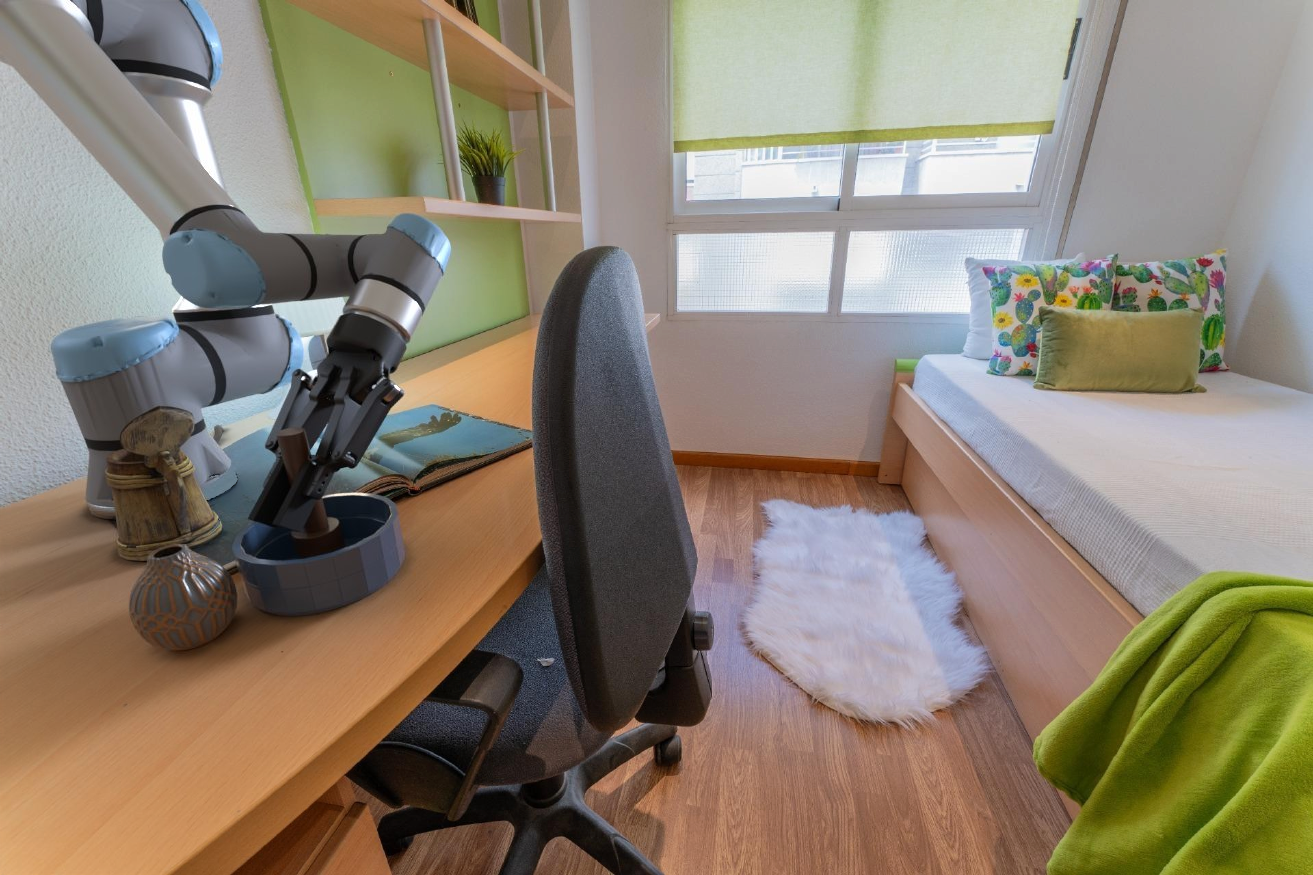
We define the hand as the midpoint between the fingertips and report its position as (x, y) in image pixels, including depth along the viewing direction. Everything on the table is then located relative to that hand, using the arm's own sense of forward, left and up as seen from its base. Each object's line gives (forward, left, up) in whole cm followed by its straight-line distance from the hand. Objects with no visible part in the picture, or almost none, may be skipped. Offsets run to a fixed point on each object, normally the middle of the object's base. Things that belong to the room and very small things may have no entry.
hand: (274, 525), depth 51 cm
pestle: (-2, +4, -6) cm, 8 cm away
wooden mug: (-18, -6, -7) cm, 20 cm away
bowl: (0, +4, -7) cm, 8 cm away
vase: (+2, -8, -7) cm, 11 cm away
